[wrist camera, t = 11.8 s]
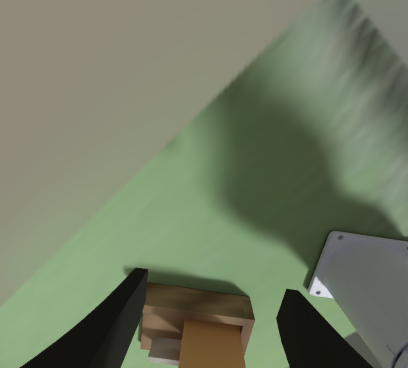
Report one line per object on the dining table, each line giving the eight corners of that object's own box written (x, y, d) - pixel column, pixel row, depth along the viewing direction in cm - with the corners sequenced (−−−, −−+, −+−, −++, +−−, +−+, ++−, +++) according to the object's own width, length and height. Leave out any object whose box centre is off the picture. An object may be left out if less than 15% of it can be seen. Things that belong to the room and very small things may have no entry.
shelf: (249, 296, 23) (254, 320, 20) (233, 355, 26) (235, 383, 23) (146, 282, 22) (138, 304, 20) (142, 343, 25) (134, 369, 23)
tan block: (237, 314, 23) (248, 382, 17) (231, 339, 24) (238, 410, 18) (186, 307, 23) (178, 373, 17) (182, 333, 24) (173, 402, 18)
